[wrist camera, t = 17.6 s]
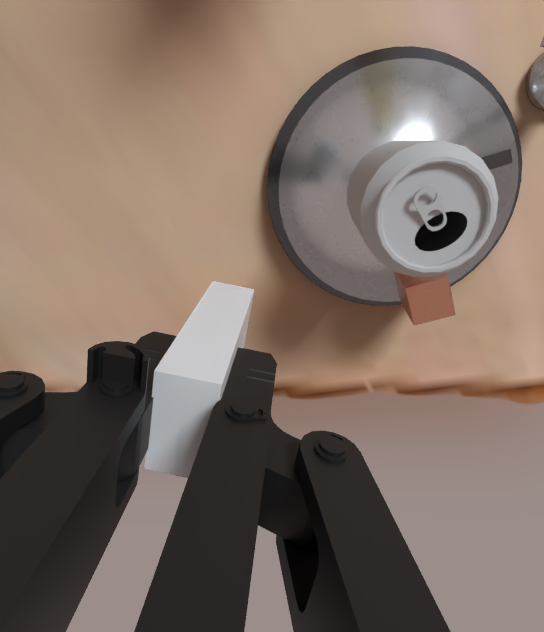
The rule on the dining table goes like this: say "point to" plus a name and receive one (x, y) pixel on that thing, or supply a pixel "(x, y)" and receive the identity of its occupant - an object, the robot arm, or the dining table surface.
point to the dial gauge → (536, 81)
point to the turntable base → (315, 93)
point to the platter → (359, 139)
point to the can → (422, 205)
